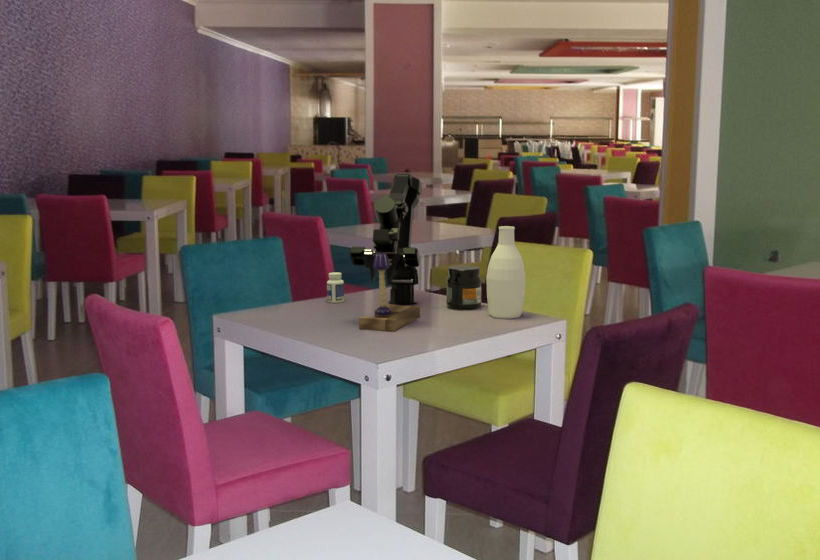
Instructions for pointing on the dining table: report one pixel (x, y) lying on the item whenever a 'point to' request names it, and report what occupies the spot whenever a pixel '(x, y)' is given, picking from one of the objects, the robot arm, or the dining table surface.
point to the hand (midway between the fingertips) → (380, 281)
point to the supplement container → (463, 287)
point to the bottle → (506, 278)
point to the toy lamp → (382, 281)
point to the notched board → (391, 318)
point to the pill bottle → (335, 288)
